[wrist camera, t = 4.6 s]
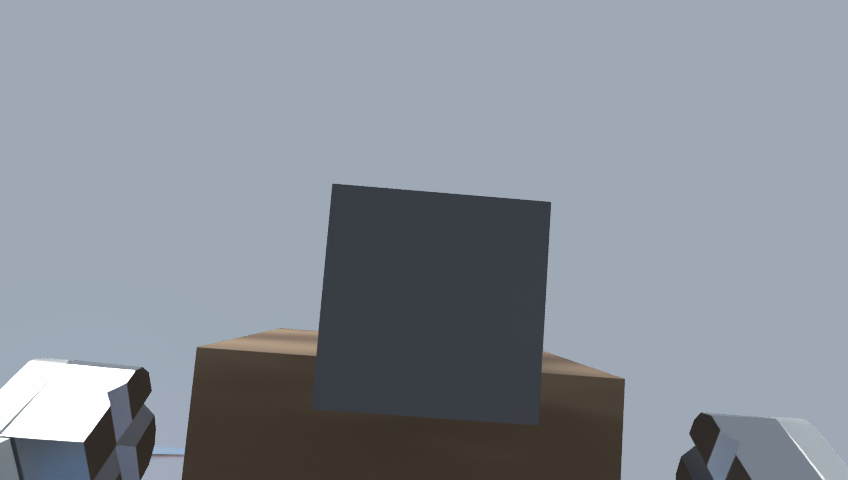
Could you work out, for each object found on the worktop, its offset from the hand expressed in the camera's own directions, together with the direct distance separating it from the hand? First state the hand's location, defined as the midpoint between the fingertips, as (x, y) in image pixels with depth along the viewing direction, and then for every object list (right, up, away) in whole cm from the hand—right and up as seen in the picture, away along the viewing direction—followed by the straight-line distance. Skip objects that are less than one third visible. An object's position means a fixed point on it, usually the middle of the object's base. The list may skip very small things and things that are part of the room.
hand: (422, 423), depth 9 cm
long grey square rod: (0, -1, +10) cm, 10 cm away
